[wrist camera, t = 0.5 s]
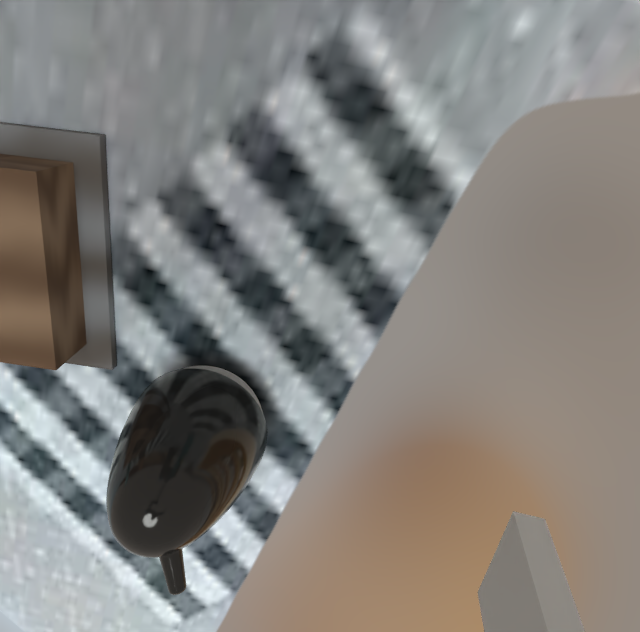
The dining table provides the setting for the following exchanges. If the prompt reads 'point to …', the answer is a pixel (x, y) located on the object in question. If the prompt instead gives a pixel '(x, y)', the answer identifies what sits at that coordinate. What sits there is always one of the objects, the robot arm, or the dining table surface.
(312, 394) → the dining table surface
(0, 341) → the socket
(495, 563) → the robot arm
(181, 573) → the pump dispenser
